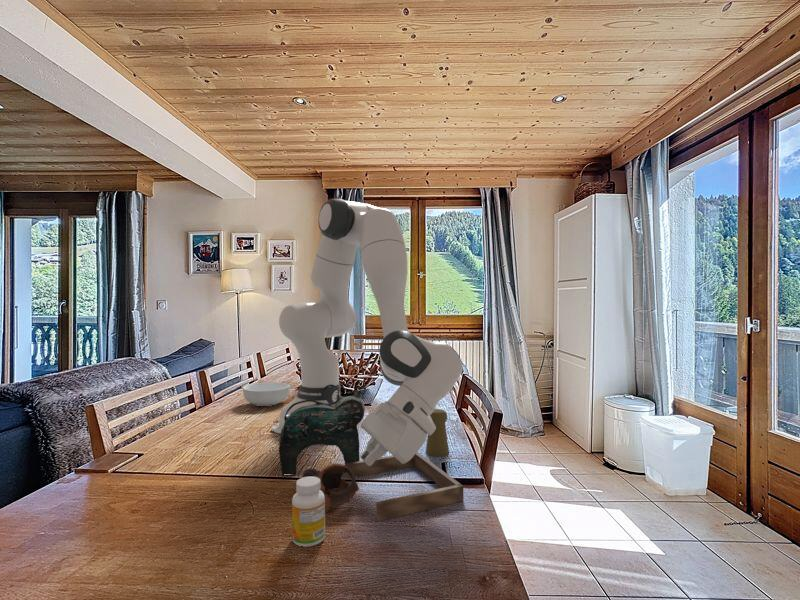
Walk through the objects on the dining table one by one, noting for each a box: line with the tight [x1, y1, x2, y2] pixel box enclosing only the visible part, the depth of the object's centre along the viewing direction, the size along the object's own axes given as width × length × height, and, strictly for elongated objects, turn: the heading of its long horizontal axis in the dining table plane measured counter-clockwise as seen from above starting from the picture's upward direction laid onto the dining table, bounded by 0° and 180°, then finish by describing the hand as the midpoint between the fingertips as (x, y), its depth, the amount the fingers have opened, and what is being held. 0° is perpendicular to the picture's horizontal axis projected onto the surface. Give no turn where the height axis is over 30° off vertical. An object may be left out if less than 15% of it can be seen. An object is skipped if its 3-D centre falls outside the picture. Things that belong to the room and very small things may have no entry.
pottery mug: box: [301, 463, 360, 513], centre depth 86 cm, size 12×10×8 cm
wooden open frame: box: [344, 451, 464, 522], centre depth 91 cm, size 18×21×3 cm
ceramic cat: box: [278, 384, 366, 476], centre depth 101 cm, size 20×6×20 cm, turn 100°
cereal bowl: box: [242, 381, 291, 407], centre depth 163 cm, size 17×17×7 cm
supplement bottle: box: [291, 476, 326, 548], centre depth 73 cm, size 5×5×10 cm
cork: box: [425, 408, 450, 457], centre depth 112 cm, size 6×6×11 cm
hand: (364, 462), depth 88 cm, fingers closed
